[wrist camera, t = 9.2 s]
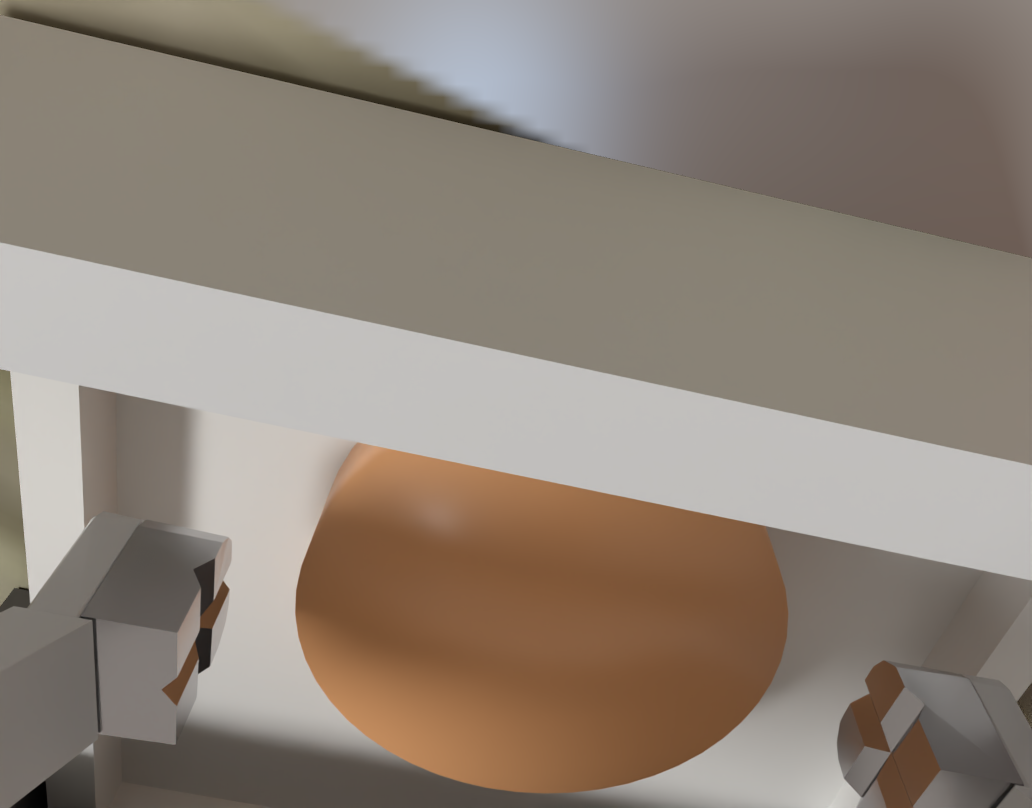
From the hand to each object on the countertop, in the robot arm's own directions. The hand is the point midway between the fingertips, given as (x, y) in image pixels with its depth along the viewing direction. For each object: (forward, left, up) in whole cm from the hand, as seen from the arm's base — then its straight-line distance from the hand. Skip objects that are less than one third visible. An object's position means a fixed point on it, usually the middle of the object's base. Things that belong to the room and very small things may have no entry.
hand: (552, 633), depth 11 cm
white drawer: (+2, 0, -4) cm, 4 cm away
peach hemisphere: (+1, 0, -2) cm, 2 cm away
